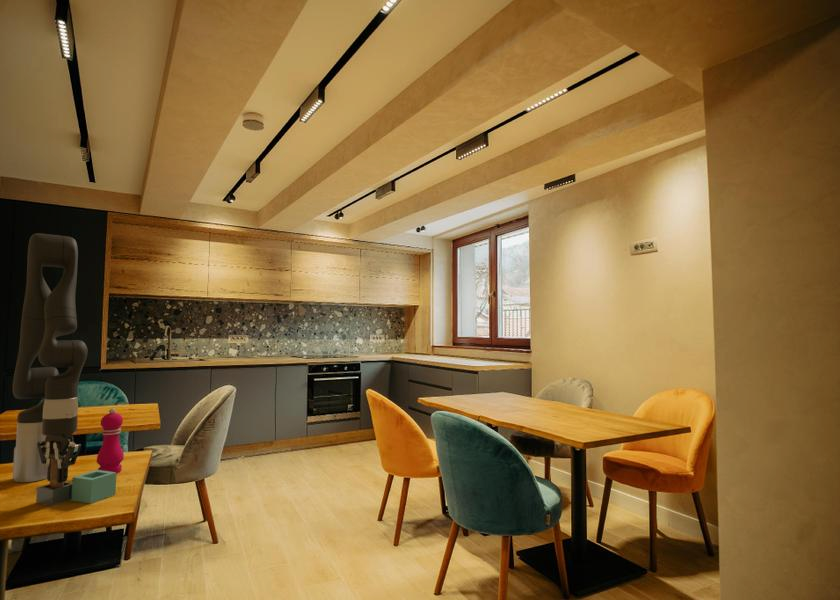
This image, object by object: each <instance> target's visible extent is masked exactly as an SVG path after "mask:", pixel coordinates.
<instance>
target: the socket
mask: <svg viewBox="0 0 840 600" xmlns="http://www.w3.org/2000/svg"><path fill="white" fill-rule="evenodd" d="M71 482H72V499H71V500H70V501H72V502H73V501H74V502H79V503H85V504H93V503H96V501H97V502H99V500H100V501H102V500H105V499H107V497H108V498H111V497H113V496H112V495H114V496H116V495H117V494H116V493H117V491H116V490H117V489H116V488H117V473H116V472H109V471H102V470H98V469H96V470H94V471H90V472H86V473H82V474H79V475H76V476H73V477H72V479H71ZM115 494H116V495H115ZM110 496H111V497H110ZM104 498H105V499H104Z"/></svg>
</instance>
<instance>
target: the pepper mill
mask: <svg viewBox="0 0 840 600" xmlns="http://www.w3.org/2000/svg"><path fill="white" fill-rule="evenodd" d="M116 412H117V410H116V409H115V407H113V408H110V409H109V411H108V413H106V414H105V415H104V416H102V417H101V419H100V426H101V428H102V431H101V432H102V433H101V435H103V441H102V443H101V444H102V445H101V447H100V449H99V451H98V453H97V456H96V463H97V464H98V465H99V467H98V468H97V470H102V471H109V472H116V474H118V472H119V473H121V472H122V468H123V467H122V464H121V463H122V462H123V461H124V455H125V454H124V451H123V449H122V446H121V444H120V433H122V431H121V429H122V428H121V426H123V424H124V418H123V415H121V413H116ZM120 471H121V472H120Z"/></svg>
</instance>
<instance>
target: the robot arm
mask: <svg viewBox="0 0 840 600" xmlns="http://www.w3.org/2000/svg"><path fill="white" fill-rule="evenodd" d="M27 247H28V248H27V262H26V265H27V266H26V269H27V270H26V283H25V284H26V285H25V292H24V293H25V294H24V300H23V305H22V313H21V322H20V336H19V345H18V346H19V347H18V355H17V359H16V365H15V369H14V374H13V381H12V393H13V396H14V398H15V399H17V400H28V399H31V400H32V399H41V398H43V399H42V400H41V402H39V403H38V404H36V405H34V406H32V407H30V408H27V409H24V410H22V411H19V412H18V414H17V418H16V419H17V420H16V421H17V422H16V436H15V438H16V440H15V447H14V449H13V466H12V480H13V481H14V482H16V483H31V482H38V481H42V480H47V482H50V471H51V458H49V454H50V453H55V459H56V460H57V463H58V469H57V483H62V482H65V481H66V482H68V481H67V480H68V478H69V477H68V476H69V475H68V474H69V473H68V472H69V467H70V466H73V465H75V464H76V462H77V458H78V456H79V454H80V451H81V448H82V444H81V443H77V444H76V443H75V442H74V441H75V440H74V433H76V432H77V430H78V421H79V420H78V417H79V414H78V413H79V400H78V394H79V393H78V392H79V381H80V377H81V373H82V370H83V367H84V364H85V362H86V360H87V357H88V354H89V353H88V352H89V351H88V350H89V349H88V347H87V345H86V343H85V342H84V341H83V340H79V339H70V340H69V339H67V340H66V339H64V340H63V339H61V340H60V339H57V338H58V337H61V336H66V335H70V334H73V333H74V332H76V330H77V328H78V319H77V310H76V309H77V308H76V307H77V306H76V289H77V280H78V278H77V277H78V264H79V263H78V262H79V261H78V260H79V249H78V244H77V241H76V239H74V238H73V237H71V236H66V235H59V234H50V233H41V232H40V233H39V232H37V233H32V235H31V236H30V238H29V241H28V246H27ZM43 267H47V268H62V269H63V273H62V276H61V278H60V280H59V282H58V283H57V284H56V286H55V287H54V288H53V289H52V291H51V289H50V287H49V285H48V284H47V282H46V280H45V278H44V275H43ZM37 357H38V361H39V363H40V364H41V365H42V366H44V367H42V366H41V367H32V366H33V363H34V361H35V359H36V358H37ZM56 367H68V368H67V370H66V371H65V372H63V373H59V370H58V369H57V368H56ZM65 453H67V454H66V455H63V456H61V455H60V454H65ZM63 458H65V459H64V462H62V459H63Z"/></svg>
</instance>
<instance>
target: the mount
mask: <svg viewBox="0 0 840 600" xmlns="http://www.w3.org/2000/svg"><path fill="white" fill-rule="evenodd" d="M71 499H72V481H65V482H64V486H62V487H59V488H55V489H52V488H50V483H48V484H45V485H44V484H43V485H41V486H37V487H36V499H35V501H36V502H35V504H38V503H40V504H39V505H43V504H45V505H44V506H49V505H50V506H49V507H54V506H57V505H59V504H63V503H66V502H69V501H72V500H71Z"/></svg>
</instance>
